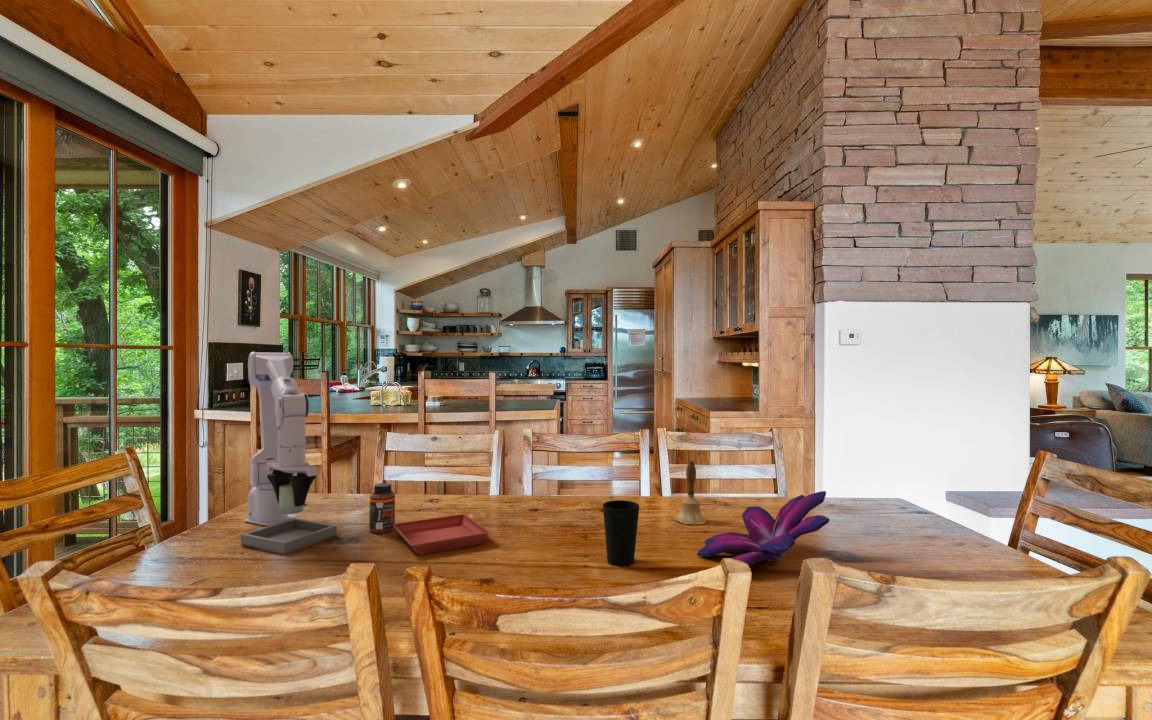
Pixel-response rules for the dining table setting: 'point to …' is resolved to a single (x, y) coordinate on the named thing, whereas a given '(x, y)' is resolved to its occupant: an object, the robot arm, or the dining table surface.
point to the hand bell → (690, 500)
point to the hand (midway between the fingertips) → (291, 504)
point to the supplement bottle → (382, 509)
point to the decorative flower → (769, 531)
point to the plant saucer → (441, 533)
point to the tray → (288, 536)
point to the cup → (620, 531)
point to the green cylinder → (287, 500)
